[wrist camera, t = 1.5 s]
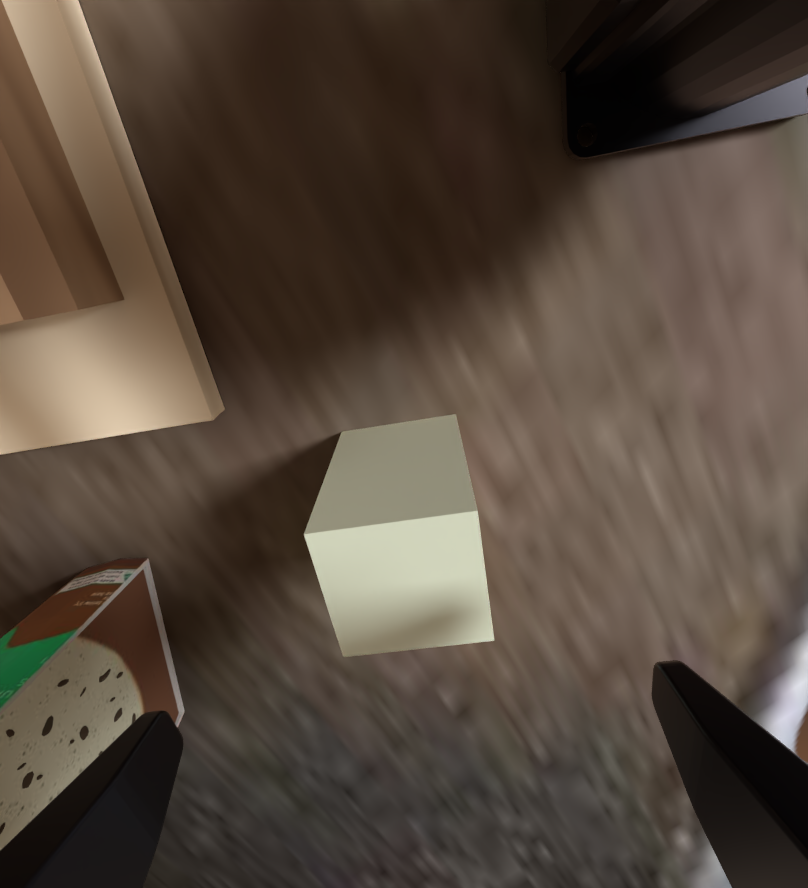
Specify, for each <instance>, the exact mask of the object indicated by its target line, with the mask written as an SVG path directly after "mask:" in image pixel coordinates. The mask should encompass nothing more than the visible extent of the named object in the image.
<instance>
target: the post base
mask: <svg viewBox="0 0 808 888" xmlns="http://www.w3.org/2000/svg"><path fill="white" fill-rule="evenodd" d="M224 410H225V408H224V405H223V403H222V400H221V397H220V394H219V391H218V389H217V386H216V383H215V380H214V378H213V375H212V372H211V369H210V366H209V364H208V361H207V358H206V355H205V352H204V350H203V347H202V344H201V341H200V338H199V336H198V333H197V330H196V327H195V325H194V322H193V319H192V316H191V313H190V311H189V308H188V305H187V302H186V299H185V297H184V294H183V291H182V288H181V286H180V283H179V280H178V277H177V274H176V272H175V269H174V266H173V263H172V260H171V258H170V255H169V252H168V249H167V246H166V244H165V241H164V238H163V235H162V233H161V230H160V227H159V224H158V221H157V219H156V216H155V213H154V210H153V207H152V205H151V202H150V199H149V196H148V194H147V191H146V188H145V185H144V182H143V180H142V177H141V174H140V171H139V168H138V166H137V163H136V160H135V157H134V154H133V152H132V149H131V146H130V143H129V141H128V138H127V135H126V132H125V129H124V127H123V124H122V121H121V118H120V115H119V113H118V110H117V107H116V104H115V102H114V99H113V96H112V93H111V90H110V88H109V85H108V82H107V79H106V76H105V74H104V71H103V68H102V65H101V62H100V60H99V57H98V54H97V51H96V49H95V46H94V43H93V40H92V37H91V35H90V32H89V29H88V26H87V23H86V21H85V18H84V15H83V12H82V10H81V7H80V4H79V1H78V0H0V455H1V454H7V453H13V452H19V451H25V450H31V449H38V448H44V447H50V446H56V445H62V444H68V443H75V442H81V441H87V440H93V439H99V438H105V437H112V436H118V435H124V434H130V433H136V432H142V431H149V430H155V429H161V428H167V427H173V426H179V425H186V424H192V423H198V422H204V421H210V420H214V419H215V418H216V417H217V416H218V415H219V414H220V413H221V412H222V411H224Z"/></svg>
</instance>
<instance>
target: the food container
mask: <svg viewBox="0 0 808 888" xmlns="http://www.w3.org/2000/svg"><path fill="white" fill-rule="evenodd" d="M162 710H164V711H167V712H168V713H169V714H170V716H171V717H172V719H173V721H174V723H175V724H176V726H177V728H178V726H179V723H180V721H181V719H182V717H183V714H184V712H185V711H184V707H183V703H182V698H181V694H180V690H179V686H178V682H177V677H176V673H175V669H174V665H173V660H172V656H171V652H170V648H169V644H168V639H167V635H166V631H165V627H164V623H163V618H162V614H161V610H160V606H159V602H158V597H157V593H156V589H155V585H154V580H153V576H152V572H151V568H150V564H149V559H148V558H124V559H117V560H113V561H110V562H106V563H103V564H99V565H96V566H92V567H89V568H87V569H86V570H84V571H83V572H82V573H80V574H79V575H77V576H76V577H75V578H73V579H72V580H71V581H69V582H68V583H66V584H65V585H64V586H63V587H62V588H60V589H59V590H58V591H57V592H56V593H54V594H53V595H52V596H51V597H50V598H48V599H47V600H46V601H45V602H44V603H42V604H41V605H40V606H39V607H38V608H36V609H35V610H34V611H33V612H32V613H30V614H29V615H28V616H27V617H26V618H24V619H23V620H22V621H21V622H20V623H18V624H17V625H16V626H15V627H14V628H12V629H11V630H10V631H9V632H8V633H6V634H5V635H4V636H3V637H2V638H0V850H1V849H2V848H3V847H4V846H5V845H7V844H8V843H9V842H10V841H11V840H12V839H13V838H14V837H15V836H16V835H17V834H18V833H19V832H20V831H21V830H22V829H23V828H24V827H25V826H26V825H27V824H28V823H29V822H30V821H31V820H32V819H34V818H35V817H36V816H37V815H38V814H39V813H40V812H41V811H42V810H43V809H44V808H45V807H46V806H47V805H48V804H49V803H50V802H51V801H52V800H53V799H54V798H55V797H56V796H57V795H58V794H59V793H61V792H62V791H63V790H64V789H65V788H66V787H67V786H68V785H69V784H70V783H71V782H72V781H73V780H74V779H75V778H76V777H77V776H78V775H79V774H80V773H81V772H82V771H83V770H84V769H85V768H86V767H88V766H89V765H90V764H91V763H92V762H93V761H94V760H95V759H96V758H97V757H98V756H99V755H100V754H101V753H102V752H103V751H104V750H105V749H106V748H107V747H108V746H109V745H110V744H111V743H112V742H114V741H115V740H116V739H117V738H118V737H119V736H120V735H121V734H122V733H123V732H124V731H125V730H126V729H127V728H128V727H129V726H130V725H131V724H132V723H133V722H134V721H135V720H136V719H137V718H138V717H140V716H141V715H142V714H144V713H146V712H152V711H162Z"/></svg>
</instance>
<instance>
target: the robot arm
mask: <svg viewBox="0 0 808 888" xmlns="http://www.w3.org/2000/svg"><path fill="white" fill-rule="evenodd" d="M546 25H547V52H548V64H549V66H550V67H551V68H552V69H553V70H554V71H555V72H556V73H560V72H561V96H562V132H563V145H564V150H565V151H566V153H567V154H568V156H569V157H571V158H573V159H575V160H584V159H589V158H594V157H599V156H604V155H609V154H614V153H619V152H624V151H628V150H633V149H638V148H643V147H648V146H653V145H658V144H663V143H668V142H673V141H678V140H683V139H688V138H693V137H698V136H703V135H708V134H713V133H718V132H723V131H728V130H733V129H737V128H742V127H747V126H752V125H757V124H762V123H767V122H772V121H777V120H782V119H787V118H792V117H797V116H802V115H805V114H808V96H807V91H806V89H807V87H808V0H546ZM582 126H584V127H588V128H589V129H590V130H591V133H592V139H591V142H590V144H589V145H588V147H585V146H581V145H580V144H579V143H578V139H577V134H578V130H579V129H580V128H581V127H582ZM652 700H653V704H654V707H655V710H656V713H657V715H658V718H659V721H660V723H661V726H662V728H663V731H664V734H665V736H666V739H667V741H668V744H669V747H670V749H671V752H672V754H673V757H674V760H675V762H676V765H677V767H678V770H679V773H680V775H681V778H682V780H683V783H684V786H685V788H686V791H687V793H688V796H689V798H690V801H691V803H692V806H693V808H694V810H695V813H696V815H697V817H698V819H699V821H700V823H701V825H702V828H703V830H704V832H705V834H706V836H707V838H708V840H709V842H710V844H711V846H712V848H713V850H714V852H715V854H716V856H717V858H718V860H719V862H720V864H721V866H722V868H723V870H724V872H725V874H726V876H727V878H728V880H729V882H730V884H731V886H732V888H808V764H807V763H806V762H805V761H803V760H802V759H801V758H800V757H798V756H797V755H796V754H795V753H794V752H792V751H791V750H790V749H789V748H787V747H786V746H785V745H784V744H782V743H781V742H780V741H779V740H778V739H776V738H775V737H774V736H773V735H771V734H770V733H769V732H768V731H767V730H765V729H764V728H763V727H762V726H760V725H759V724H758V723H757V722H755V721H754V720H753V719H752V718H751V717H749V716H748V715H747V714H746V713H744V712H743V711H742V710H741V709H740V708H738V707H737V706H736V705H735V704H733V703H732V702H731V701H730V700H728V699H727V698H726V697H725V696H724V695H722V694H721V693H720V692H719V691H717V690H716V689H715V688H714V687H713V686H711V685H710V684H709V683H708V682H706V681H705V680H704V679H703V678H701V677H700V676H699V675H698V674H697V673H695V672H694V671H693V670H692V669H690V668H689V667H688V666H687V665H685V664H684V663H682V662H680V661H677V660H673V661H663V662H657V663H656V664H655V665H654V668H653V681H652ZM182 750H183V737H182V735H181V733H180V731H179V729H178V728H177V726H176V724H175V723H174V721H173V719H172V717H171V716H170V714H169V713H168V712H167V711H164V710H162V711H152V712H146V713H144V714H142V715H141V716H140V717H138V718H137V719H136V720H135V721H134V722H133V723H132V724H131V725H130V726H129V727H128V728H127V729H126V730H125V731H124V732H123V733H122V734H121V735H120V736H119V737H118V738H117V739H116V740H115V741H114V742H112V743H111V744H110V745H109V746H108V747H107V748H106V749H105V750H104V751H103V752H102V753H101V754H100V755H99V756H98V757H97V758H96V759H95V760H94V761H93V762H92V763H91V764H90V765H89V766H88V767H86V768H85V769H84V770H83V771H82V772H81V773H80V774H79V775H78V776H77V777H76V778H75V779H74V780H73V781H72V782H71V783H70V784H69V785H68V786H67V787H66V788H65V789H64V790H63V791H62V792H61V793H59V794H58V795H57V796H56V797H55V798H54V799H53V800H52V801H51V802H50V803H49V804H48V805H47V806H46V807H45V808H44V809H43V810H42V811H41V812H40V813H39V814H38V815H37V816H36V817H35V818H34V819H32V820H31V821H30V822H29V823H28V824H27V825H26V826H25V827H24V828H23V829H22V830H21V831H20V832H19V833H18V834H17V835H16V836H15V837H14V838H13V839H12V840H11V841H10V842H9V843H8V844H7V845H5V846H4V847H3V848H2V849H1V850H0V888H143V885H144V883H145V880H146V877H147V874H148V871H149V868H150V866H151V863H152V860H153V857H154V854H155V851H156V847H157V844H158V841H159V838H160V834H161V831H162V827H163V823H164V819H165V816H166V812H167V808H168V804H169V800H170V797H171V793H172V789H173V785H174V781H175V778H176V774H177V770H178V766H179V762H180V758H181V755H182Z"/></svg>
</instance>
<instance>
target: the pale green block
mask: <svg viewBox="0 0 808 888" xmlns="http://www.w3.org/2000/svg"><path fill="white" fill-rule="evenodd" d="M304 537H305V540H306V543H307V546H308V549H309V552H310V555H311V558H312V561H313V564H314V568H315V571H316V574H317V577H318V580H319V583H320V586H321V589H322V592H323V595H324V599H325V602H326V605H327V608H328V611H329V614H330V617H331V620H332V623H333V626H334V630H335V633H336V636H337V639H338V642H339V645H340V648H341V651H342V654H343V657H349V656H358V655H367V654H376V653H385V652H395V651H404V650H413V649H422V648H431V647H440V646H450V645H459V644H468V643H477V642H486V641H494V635H493V627H492V619H491V611H490V604H489V596H488V588H487V580H486V573H485V565H484V557H483V549H482V542H481V534H480V526H479V518H478V511H477V506H476V502H475V497H474V493H473V489H472V484H471V480H470V475H469V471H468V466H467V462H466V458H465V453H464V449H463V444H462V440H461V436H460V431H459V427H458V422H457V418H456V414H454V415H447V416H441V417H434V418H428V419H421V420H415V421H409V422H402V423H396V424H389V425H383V426H376V427H370V428H364V429H357V430H351V431H344V432H341V435H340V438H339V440H338V443H337V446H336V448H335V451H334V454H333V457H332V459H331V462H330V465H329V467H328V470H327V473H326V476H325V478H324V481H323V484H322V486H321V489H320V492H319V494H318V497H317V500H316V503H315V505H314V508H313V511H312V513H311V516H310V519H309V522H308V524H307V527H306V530H305V532H304Z"/></svg>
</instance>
